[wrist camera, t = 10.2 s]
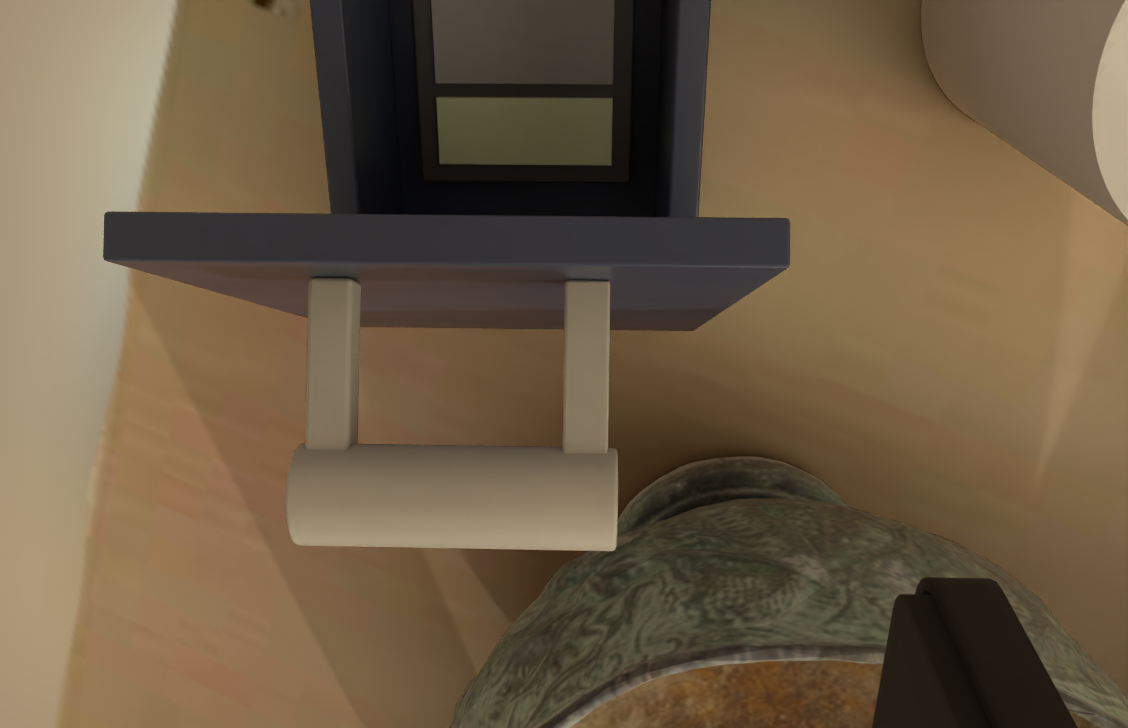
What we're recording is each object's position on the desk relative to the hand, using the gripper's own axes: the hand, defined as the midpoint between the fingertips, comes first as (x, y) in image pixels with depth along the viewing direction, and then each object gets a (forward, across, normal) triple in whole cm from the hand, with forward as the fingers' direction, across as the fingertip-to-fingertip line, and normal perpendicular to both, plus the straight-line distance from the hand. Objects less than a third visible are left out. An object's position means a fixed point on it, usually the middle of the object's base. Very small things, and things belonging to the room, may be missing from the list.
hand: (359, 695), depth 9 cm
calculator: (+25, 0, -2) cm, 25 cm away
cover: (+13, 0, +1) cm, 13 cm away
